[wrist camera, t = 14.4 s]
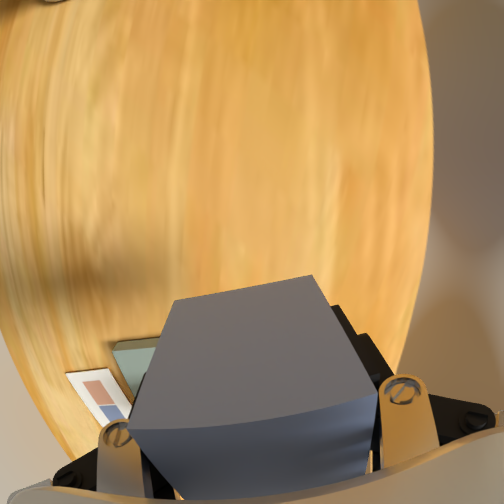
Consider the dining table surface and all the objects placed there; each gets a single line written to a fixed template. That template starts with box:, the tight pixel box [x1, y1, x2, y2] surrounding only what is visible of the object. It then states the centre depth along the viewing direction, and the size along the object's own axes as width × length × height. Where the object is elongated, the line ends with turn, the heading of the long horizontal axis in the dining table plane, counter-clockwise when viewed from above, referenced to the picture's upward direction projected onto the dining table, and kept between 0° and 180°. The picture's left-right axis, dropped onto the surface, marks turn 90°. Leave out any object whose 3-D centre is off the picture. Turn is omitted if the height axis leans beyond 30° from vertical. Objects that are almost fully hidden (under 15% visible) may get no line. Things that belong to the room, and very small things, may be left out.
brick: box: [126, 275, 378, 500], centre depth 9 cm, size 5×5×6 cm
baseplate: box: [112, 338, 159, 397], centre depth 24 cm, size 12×12×2 cm
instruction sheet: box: [65, 368, 132, 427], centre depth 25 cm, size 8×6×1 cm
